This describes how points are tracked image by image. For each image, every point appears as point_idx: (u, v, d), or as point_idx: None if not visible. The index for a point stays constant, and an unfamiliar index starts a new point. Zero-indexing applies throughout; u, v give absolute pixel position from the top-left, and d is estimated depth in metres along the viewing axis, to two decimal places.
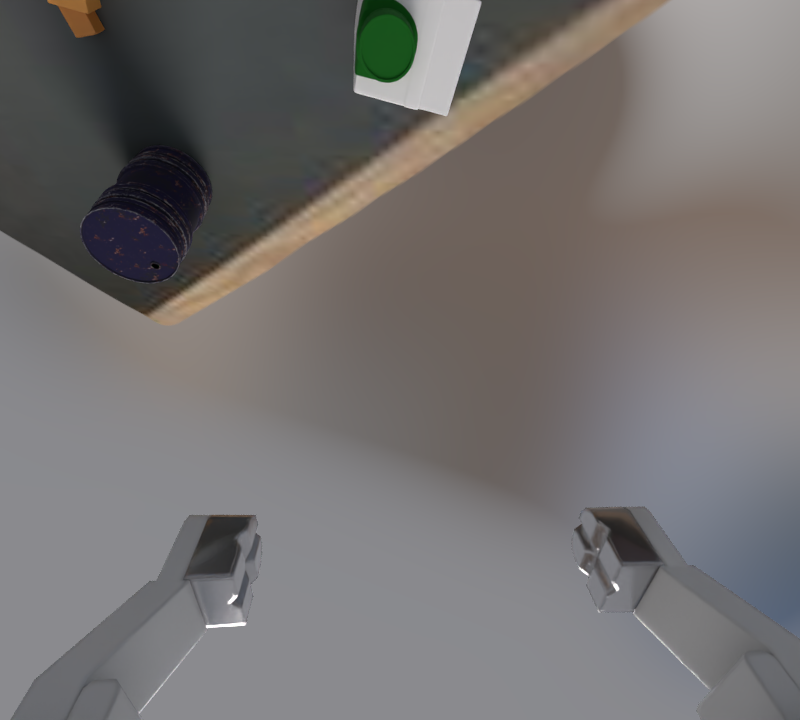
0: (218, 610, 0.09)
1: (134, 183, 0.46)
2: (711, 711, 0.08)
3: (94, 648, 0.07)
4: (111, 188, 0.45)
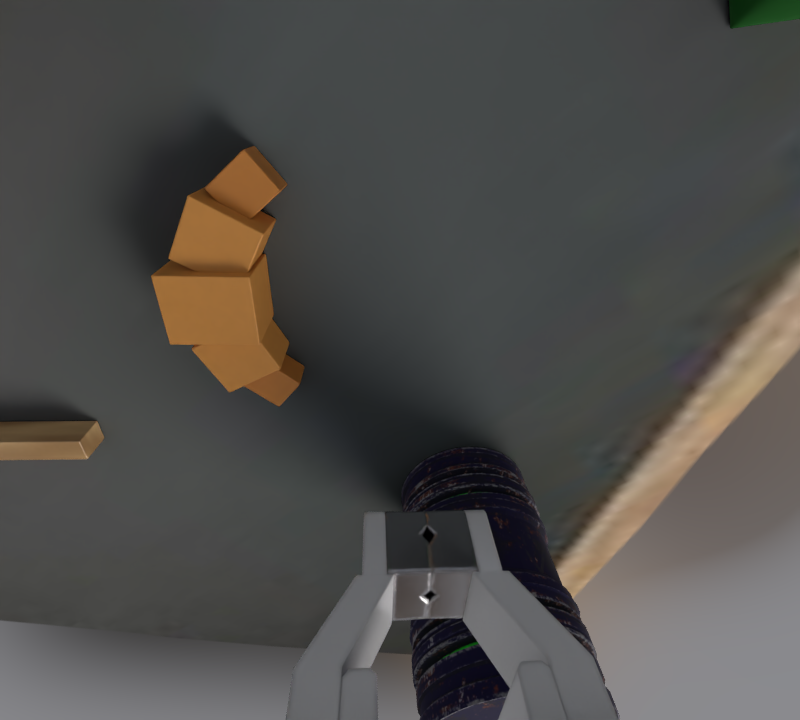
0: (408, 604, 0.09)
1: None
2: None
3: (335, 638, 0.07)
4: None
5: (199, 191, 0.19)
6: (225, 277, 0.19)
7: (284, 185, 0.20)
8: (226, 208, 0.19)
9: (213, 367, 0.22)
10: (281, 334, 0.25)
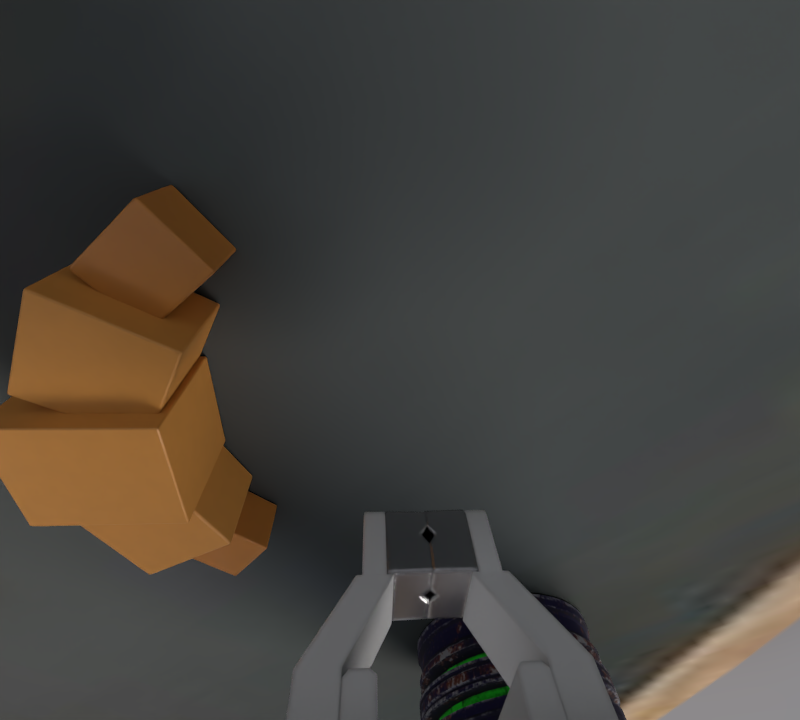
0: (407, 604, 0.09)
1: None
2: None
3: (335, 639, 0.07)
4: None
5: (61, 272, 0.10)
6: (113, 429, 0.10)
7: (228, 254, 0.11)
8: (112, 302, 0.10)
9: (117, 545, 0.13)
10: (238, 469, 0.16)
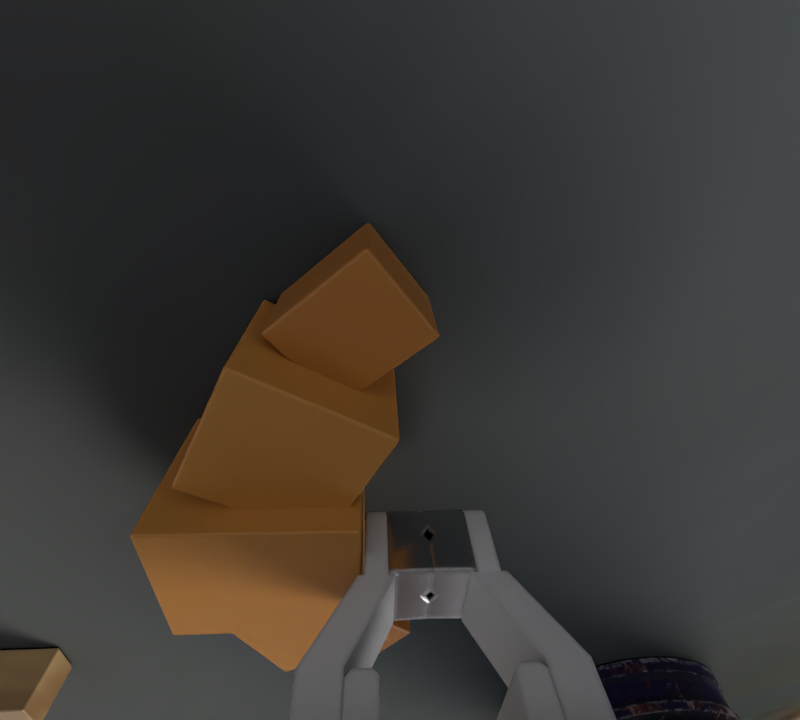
0: (409, 604, 0.09)
1: None
2: None
3: (337, 638, 0.07)
4: None
5: (247, 337, 0.08)
6: (305, 534, 0.08)
7: (430, 307, 0.09)
8: (310, 375, 0.08)
9: (258, 644, 0.11)
10: None
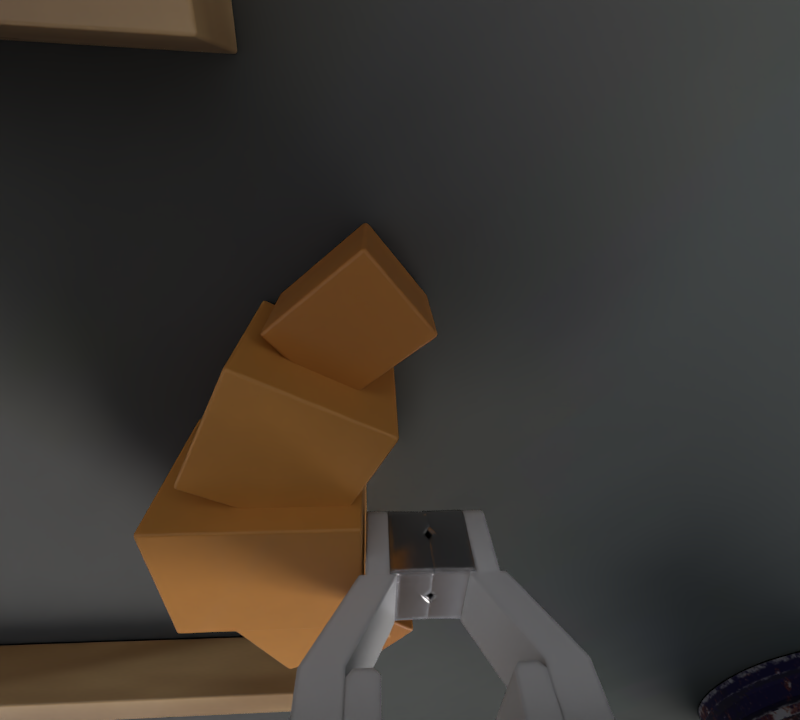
0: (410, 604, 0.09)
1: None
2: None
3: (339, 639, 0.07)
4: None
5: (247, 338, 0.08)
6: (307, 533, 0.08)
7: (429, 306, 0.09)
8: (309, 375, 0.08)
9: (262, 641, 0.11)
10: None
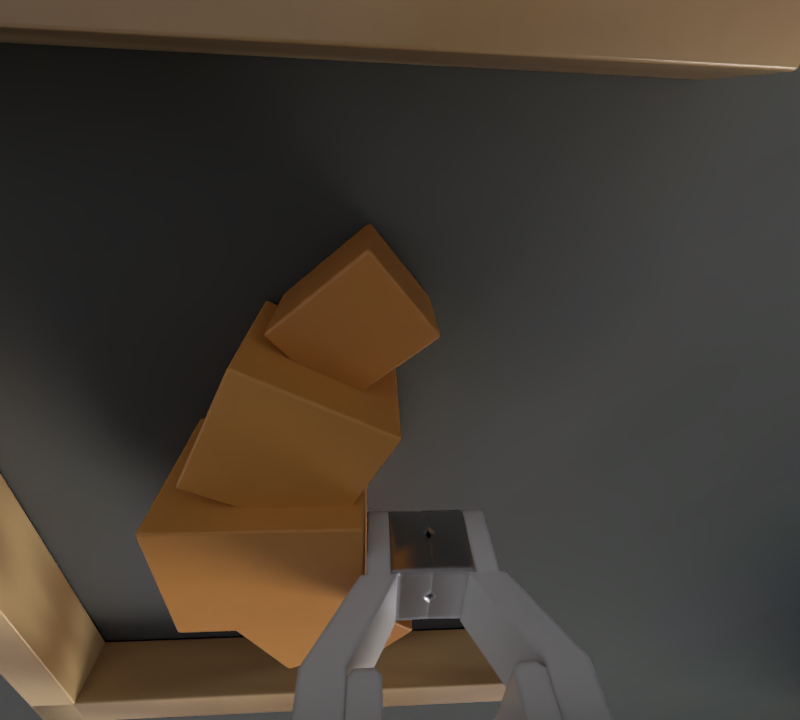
0: (411, 604, 0.09)
1: None
2: None
3: (340, 639, 0.07)
4: None
5: (250, 338, 0.08)
6: (308, 532, 0.08)
7: (431, 307, 0.09)
8: (312, 375, 0.08)
9: (262, 641, 0.11)
10: None
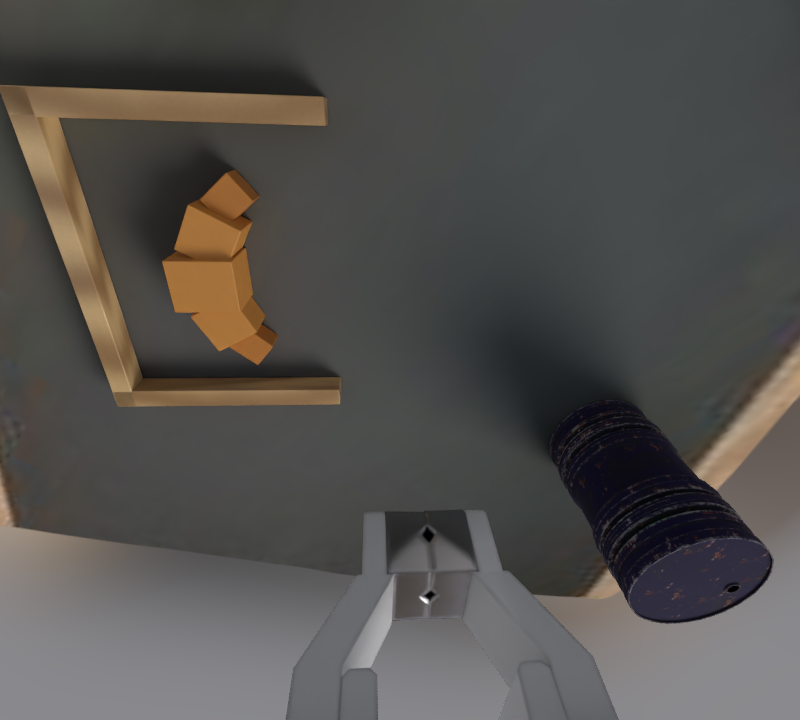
0: (407, 604, 0.09)
1: (638, 486, 0.31)
2: None
3: (335, 639, 0.07)
4: (615, 509, 0.31)
5: (196, 202, 0.27)
6: (214, 262, 0.27)
7: (256, 197, 0.28)
8: (214, 213, 0.27)
9: (207, 331, 0.30)
10: (259, 309, 0.32)
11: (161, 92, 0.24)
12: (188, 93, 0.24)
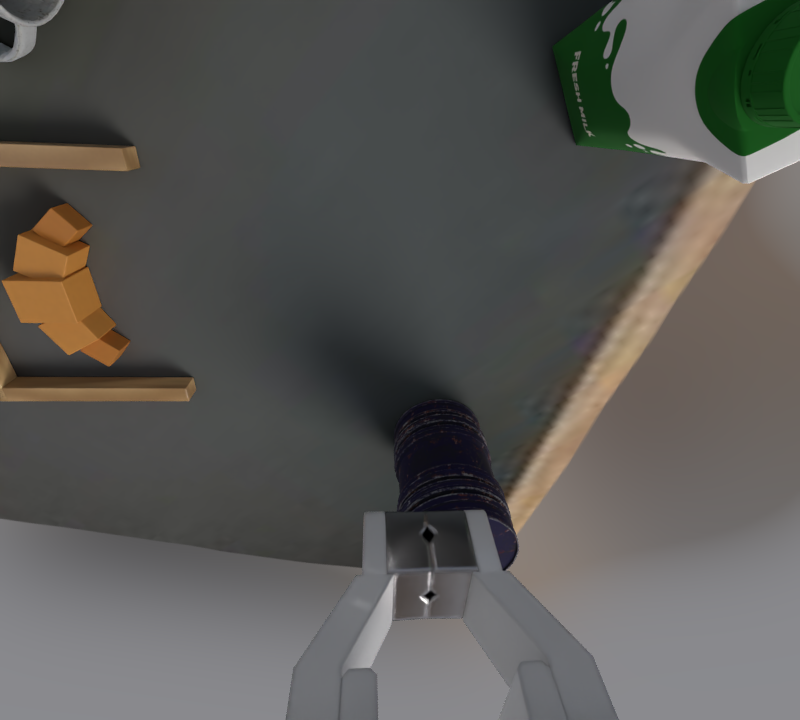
0: (408, 604, 0.09)
1: (424, 473, 0.36)
2: None
3: (335, 639, 0.07)
4: (405, 492, 0.37)
5: (30, 231, 0.32)
6: (47, 281, 0.32)
7: (87, 226, 0.33)
8: (46, 240, 0.32)
9: (54, 338, 0.35)
10: (108, 318, 0.38)
11: None
12: (6, 145, 0.29)
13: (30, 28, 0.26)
